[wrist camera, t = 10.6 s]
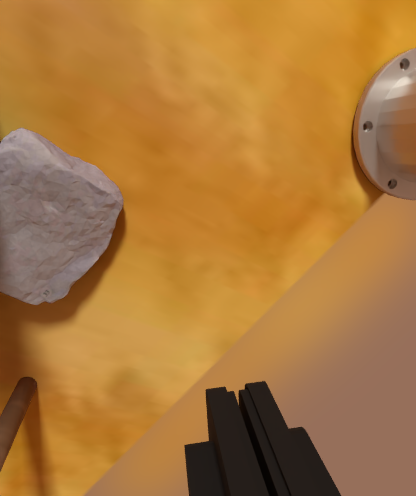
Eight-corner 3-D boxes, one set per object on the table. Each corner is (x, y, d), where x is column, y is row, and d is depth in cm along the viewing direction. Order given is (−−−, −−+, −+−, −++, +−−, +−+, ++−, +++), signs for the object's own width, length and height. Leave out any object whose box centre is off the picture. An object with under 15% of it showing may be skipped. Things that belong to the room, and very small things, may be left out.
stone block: (132, 185, 33) (15, 115, 29) (141, 199, 29) (6, 121, 25) (63, 296, 35) (-57, 247, 31) (62, 325, 31) (-77, 274, 26)
